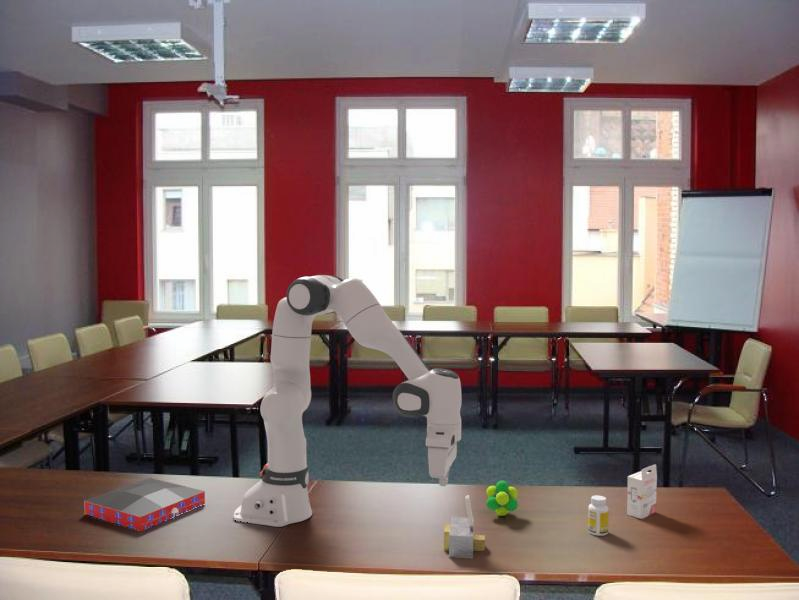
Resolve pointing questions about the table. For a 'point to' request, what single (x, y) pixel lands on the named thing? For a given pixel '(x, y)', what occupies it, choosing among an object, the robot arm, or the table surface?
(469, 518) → the bar
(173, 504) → the building model
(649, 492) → the ink cartridge box
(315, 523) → the table surface
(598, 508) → the supplement bottle
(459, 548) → the block
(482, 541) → the lynch pin
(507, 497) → the molecule model
